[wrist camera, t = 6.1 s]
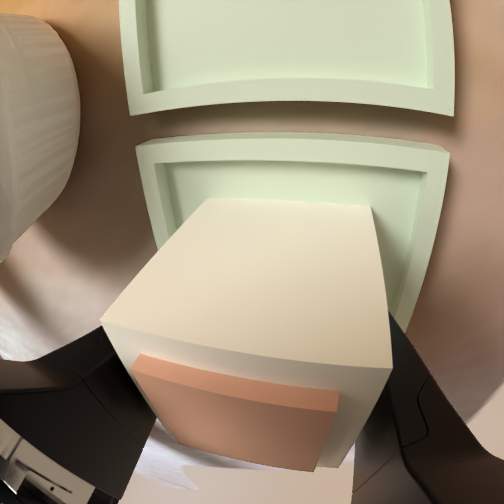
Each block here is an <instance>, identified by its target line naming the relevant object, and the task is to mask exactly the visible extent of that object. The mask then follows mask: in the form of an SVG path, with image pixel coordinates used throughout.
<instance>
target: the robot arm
mask: <svg viewBox="0 0 504 504" xmlns="http://www.w3.org/2000/svg"><path fill="white" fill-rule="evenodd" d="M388 316H389V326H390V336H391V349H392V364H393V369H392V371H391V373H390V376H389V378H388V380H387V382H386V384H385V386H384V388H383V390H382V392H381V394H380V396H379V398H378V400H377V402H376V404H375V406H374V408H373V410H372V412H371V414H370V416H369V417H368V419H367V421H366V423H365V425H364V426H363V428H362V430H361V432H360V433H359V435H358V437H357V439H356V440H355V459H354V476H353V490H352V493H353V494H352V500H351V501H352V502H351V504H504V460H502V459H500V458H498V457H495V456H493V455H492V454H490V453H489V452H488V451H487V450H485V449H484V448H483V447H482V445H481V444H480V443H479V442H478V441H477V439H476V438H475V436H474V435H473V434H472V432H471V431H470V430H469V428H468V427H467V425H466V424H465V423H464V421H463V420H462V419H461V417H460V416H459V415H458V413H457V412H456V411H455V409H454V408H453V406H452V405H451V404H450V402H449V401H448V400H447V398H446V397H445V395H444V394H443V392H442V390H441V389H440V387H439V386H438V384H437V383H436V381H435V379H434V378H433V376H432V375H430V372H429V370H428V368H427V367H426V365H425V364H424V362H423V361H422V359H421V358H420V356H419V354H418V353H417V351H416V350H415V348H414V347H413V345H412V344H411V342H410V341H409V339H408V338H407V336H406V335H405V333H404V332H403V330H402V329H401V327H400V326H399V325H398V323H397V322H396V320H395V319H394V317H393V316H392V314H391V313H390V312H389V310H388ZM156 419H157V416H156V415H155V413H154V412H153V411H152V409H151V408H150V406H149V405H148V403H147V402H146V400H145V399H144V397H143V395H142V394H141V392H140V391H139V389H138V388H137V386H136V384H135V383H134V381H133V380H132V378H131V376H130V375H129V373H128V371H127V370H126V368H125V366H124V365H123V363H122V361H121V359H120V358H119V356H118V354H117V352H116V351H115V349H114V347H113V345H112V343H111V342H110V340H109V338H108V336H107V334H106V332H105V330H104V328H103V326H100V327H98V328H97V329H95V330H93V331H92V332H90V333H88V334H86V335H85V336H83V337H81V338H79V339H77V340H75V341H73V342H71V343H69V344H67V345H65V346H63V347H61V348H59V349H57V350H55V351H53V352H51V353H49V354H47V355H45V356H43V357H41V358H38V359H36V360H32V361H25V362H20V361H11V360H2V359H0V504H118V501H119V500H121V498H122V496H123V494H124V492H125V490H126V487H127V485H128V483H129V480H130V478H131V476H132V473H133V471H134V469H135V467H136V464H137V462H138V460H139V457H140V455H141V453H142V451H143V448H144V446H145V443H146V441H147V439H148V437H149V434H150V432H151V430H152V428H153V425H154V423H155V421H156Z"/></svg>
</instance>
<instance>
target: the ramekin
mask: <svg viewBox="0 0 504 504" xmlns="http://www.w3.org/2000/svg"><path fill="white" fill-rule="evenodd" d="M80 109H81V108H80V93H79V87H78V81H77V76H76V71H75V68H74V65H73V61H72V58H71V56H70V54H69V52H68V50H67V48H66V46H65V44H64V43H63V41H62V40H61V39H60V37H59V35H58V34H57V32H56V31H55V30H53V28H52V27H51V26H50V25H49V24H47V23H45V22H44V21H43V20H41V19H38V18H35V17H33V16H26V15H16V14H4V13H0V263H1V262H2V261H3V260H4V259H5V258H6V257H7V256H8V254H9V252H10V250H11V248H12V245H13V243H14V242H15V241H16V240H17V239H18V238H19V237H20V236H21V235H22V234H23V233H24V232H25V231H26V230H27V229H28V228H29V227H30V226H31V225H32V224H33V223H34V222H35V221H36V220H37V219H38V218H39V217H40V216H41V215H42V214H43V213H44V212H45V211H46V210H47V209H48V208H49V207H50V206H51V205H52V204H53V202H54V201H55V200H56V199H57V198H58V197H59V195H60V194H61V192H62V191H63V189H64V188H65V186H66V183H67V181H68V179H69V177H70V174H71V170H72V168H73V164H74V160H75V156H76V152H77V147H78V141H79V133H80Z"/></svg>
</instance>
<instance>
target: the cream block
mask: <svg viewBox="0 0 504 504" xmlns="http://www.w3.org/2000/svg"><path fill="white" fill-rule="evenodd" d="M100 322H101V324H102V326H103V328H104V330H105V332H106V334H107V336H108V338H109V340H110V342H111V343H112V345H113V347H114V349H115V351H116V352H117V354H118V356H119V358H120V359H121V361H122V363H123V365H124V366H125V368H126V370H127V371H128V373H129V375H130V376H131V378H132V380H133V381H134V383H135V384H136V386H137V388H138V389H139V391H140V392H141V394H142V395H143V397H144V399H145V400H146V402H147V403H148V405H149V406H150V408H151V409H152V411H153V412H154V413H155V415H156V416H157V418H158V419H159V421H160V422H161V423H162V425H163V426H164V428H165V429H166V430H167V432H168V433H169V434H170V435H173V436H174V437H175V438H176V440H177V441H178V442H179V444H182V445H186V446H189V447H192V448H195V449H199V450H202V451H206V452H209V453H213V454H217V455H221V456H225V457H229V458H233V459H237V460H242V461H246V462H251V463H256V464H261V465H267V466H272V467H278V468H285V469H292V470H299V471H307V472H314V470H315V467H316V466H319V467H330V468H339V466H340V464H341V463H342V461H343V460H344V458H345V457H346V455H347V453H348V452H349V450H350V449H351V447H352V445H353V444H354V442H355V440H356V439H357V437H358V435H359V433H360V432H361V430H362V428H363V426H364V425H365V423H366V421H367V419H368V417H369V416H370V414H371V412H372V410H373V408H374V406H375V404H376V402H377V400H378V398H379V396H380V394H381V392H382V390H383V388H384V386H385V384H386V382H387V380H388V378H389V376H390V373H391V371H392V369H393V364H392V349H391V336H390V326H389V316H388V307H387V299H386V291H385V284H384V277H383V270H382V264H381V258H380V252H379V247H378V241H377V236H376V231H375V225H374V221H373V216H372V211H371V207H370V206H358V205H346V204H333V203H318V202H302V201H284V200H262V199H234V198H207V199H206V200H205V201H204V202H203V203H202V205H201V206H200V207H199V208H198V209H197V210H196V211H195V212H194V213H193V214H192V215H191V216H190V217H189V218H188V219H187V220H186V221H185V222H184V223H183V224H182V226H181V227H180V228H179V229H178V230H177V231H176V232H175V233H174V234H173V235H172V236H171V237H170V238H169V240H168V241H167V242H166V243H165V244H164V245H163V246H162V247H161V248H160V249H159V251H158V252H157V253H156V254H155V255H154V256H153V257H152V258H151V259H150V261H149V262H148V263H147V264H146V265H145V266H144V267H143V269H142V270H141V271H140V272H139V273H138V274H137V275H136V277H135V278H134V279H133V280H132V281H131V282H130V284H129V285H128V286H127V287H126V288H125V289H124V291H123V292H122V293H121V294H120V295H119V296H118V298H117V299H116V300H115V301H114V302H113V304H112V305H111V306H110V307H109V309H108V310H107V311H106V312H105V313H104V315H103V316H102V317H101V318H100Z"/></svg>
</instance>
